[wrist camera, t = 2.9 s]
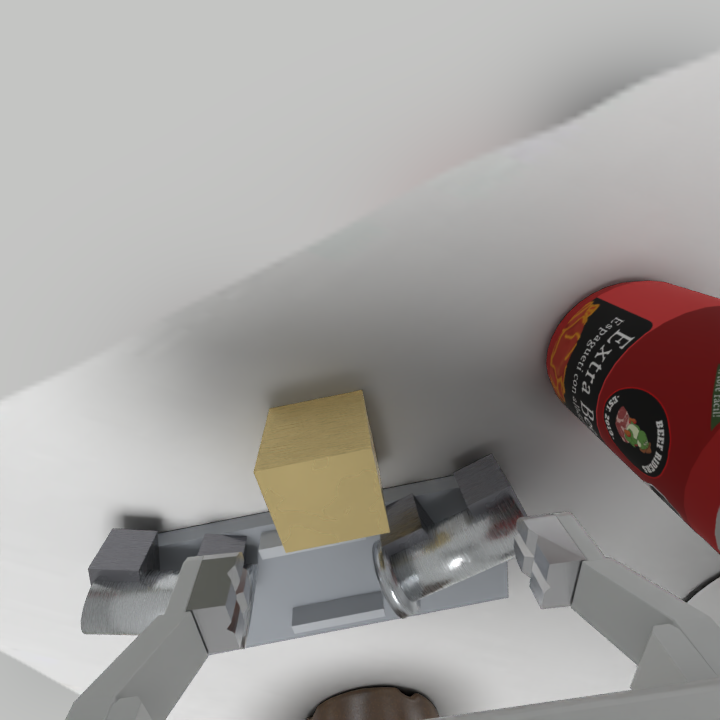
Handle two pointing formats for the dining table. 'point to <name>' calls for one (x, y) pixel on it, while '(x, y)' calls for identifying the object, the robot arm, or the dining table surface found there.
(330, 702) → the plant pot
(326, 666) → the dining table surface
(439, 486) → the grey base plate
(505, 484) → the shaft
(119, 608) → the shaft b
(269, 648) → the dining table surface
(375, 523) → the golden yellow cube
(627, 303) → the canned food
